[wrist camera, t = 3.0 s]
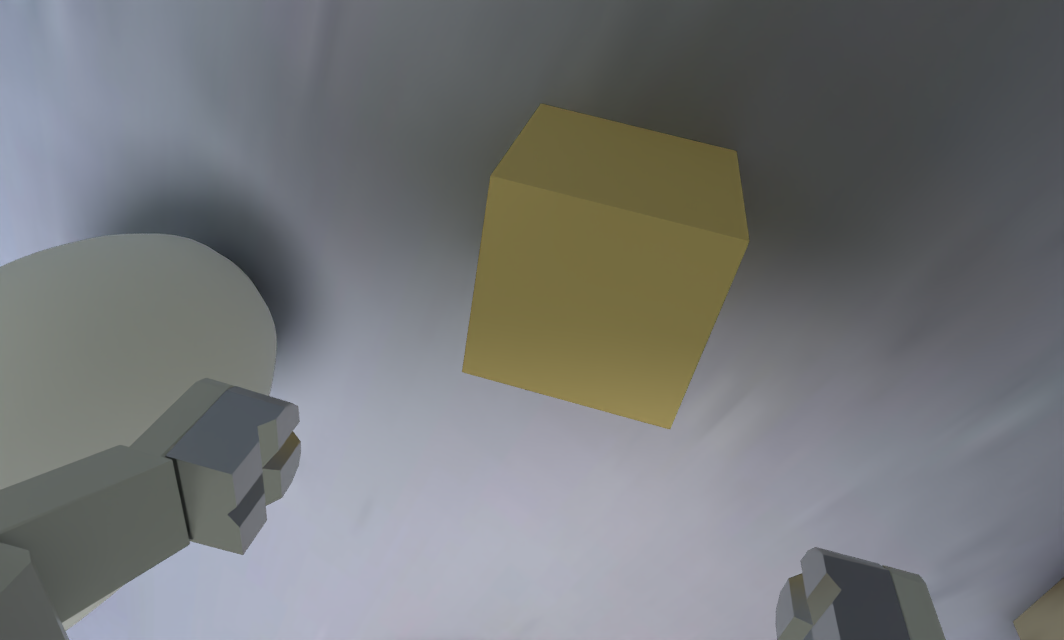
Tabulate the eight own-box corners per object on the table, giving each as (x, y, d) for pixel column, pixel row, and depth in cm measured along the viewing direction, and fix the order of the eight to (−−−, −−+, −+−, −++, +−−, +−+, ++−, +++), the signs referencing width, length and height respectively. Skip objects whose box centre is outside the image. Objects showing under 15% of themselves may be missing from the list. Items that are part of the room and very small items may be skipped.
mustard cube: (541, 102, 16) (490, 175, 12) (736, 149, 16) (749, 241, 12) (511, 268, 19) (462, 372, 15) (675, 312, 19) (669, 429, 15)
